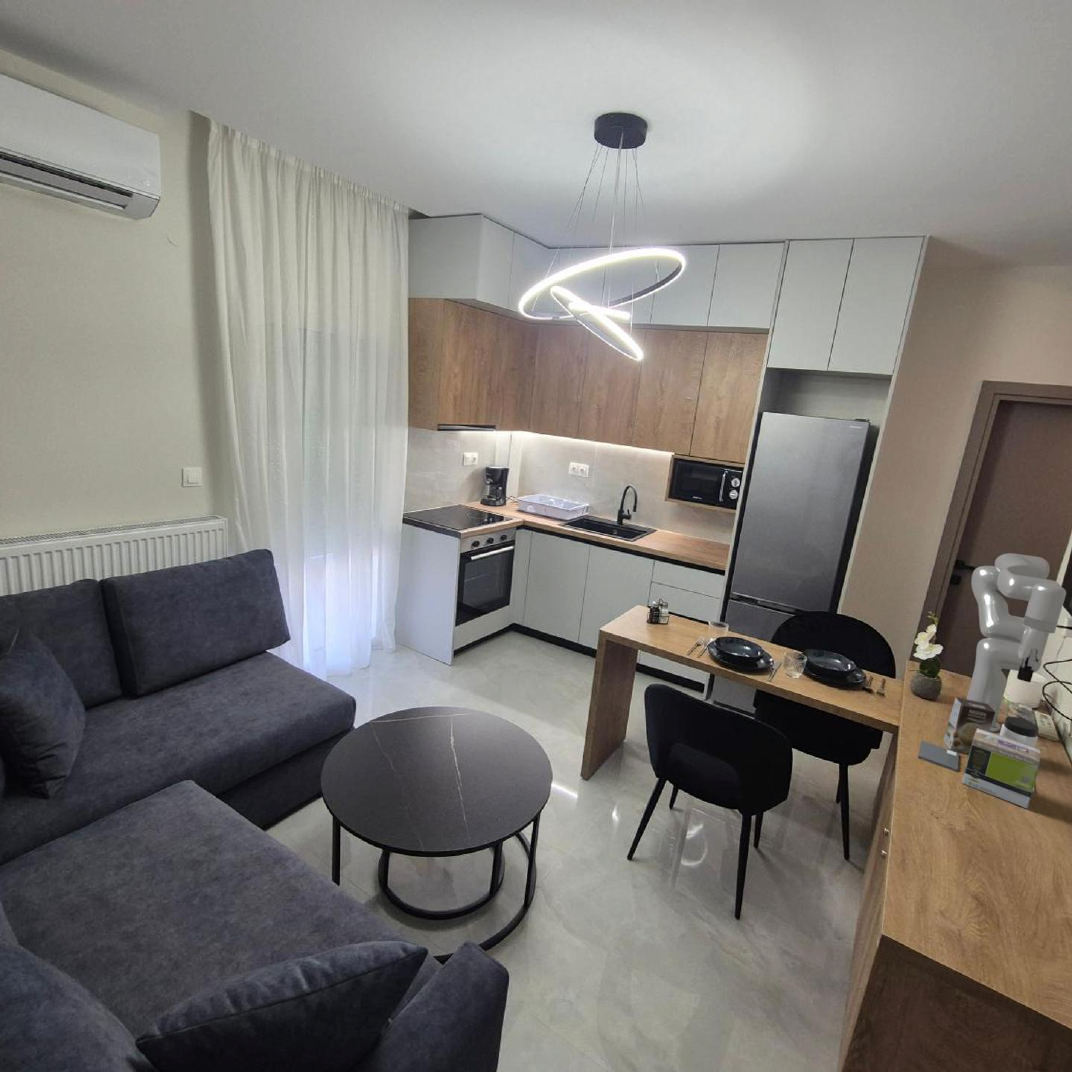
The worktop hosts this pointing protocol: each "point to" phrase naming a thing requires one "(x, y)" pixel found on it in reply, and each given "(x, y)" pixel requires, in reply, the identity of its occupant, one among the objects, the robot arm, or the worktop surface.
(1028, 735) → the jar
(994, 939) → the worktop surface
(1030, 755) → the tea box
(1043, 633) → the robot arm
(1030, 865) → the worktop surface
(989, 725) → the coffee box
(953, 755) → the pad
